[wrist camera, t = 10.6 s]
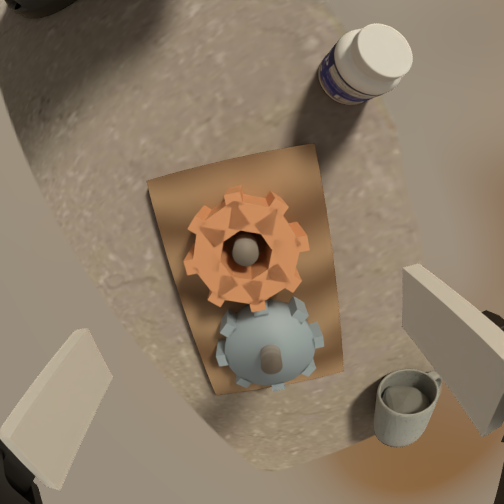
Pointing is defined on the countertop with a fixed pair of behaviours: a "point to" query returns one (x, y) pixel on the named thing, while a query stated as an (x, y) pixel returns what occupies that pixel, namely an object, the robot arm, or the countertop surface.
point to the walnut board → (310, 264)
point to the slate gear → (269, 342)
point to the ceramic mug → (405, 405)
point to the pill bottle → (365, 64)
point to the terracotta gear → (269, 261)
